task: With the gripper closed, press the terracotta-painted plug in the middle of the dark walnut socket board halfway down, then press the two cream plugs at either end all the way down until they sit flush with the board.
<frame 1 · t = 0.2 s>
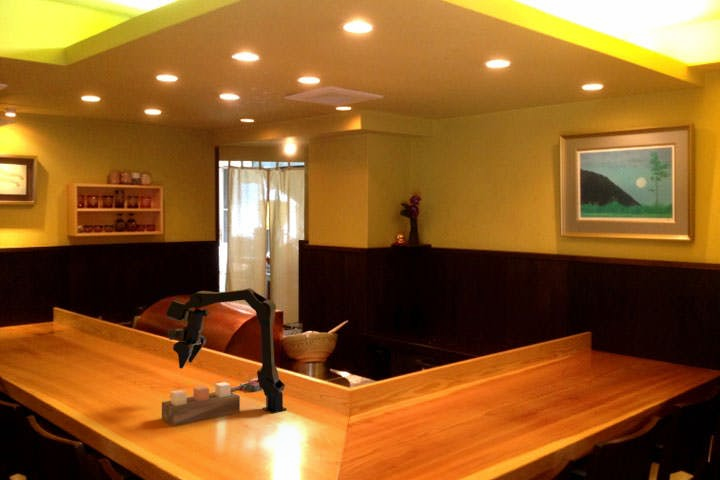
hand: (185, 365, 258), 15 cm above the counter, tool pointing down, fingers open, 9 cm apart
walkie-talkie: (251, 390, 282), on the counter
plug cream 2: (222, 392, 251), point 7 cm above the counter, slide at 0.0 cm
plug cream 1: (178, 400, 241), point 7 cm above the counter, slide at 0.0 cm
socket board: (201, 415, 246), on the counter
plug terracotta: (201, 396, 246), point 7 cm above the counter, slide at 0.0 cm
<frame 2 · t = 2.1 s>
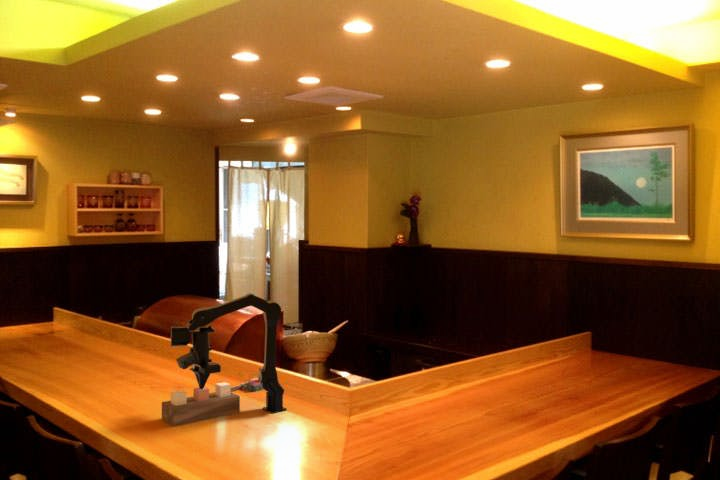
hand: (201, 388, 246), 10 cm above the counter, tool pointing down, fingers closed, pressing on plug terracotta
plug terracotta: (201, 396, 246), point 7 cm above the counter, slide at 0.3 cm, touching gripper
everything else where it was.
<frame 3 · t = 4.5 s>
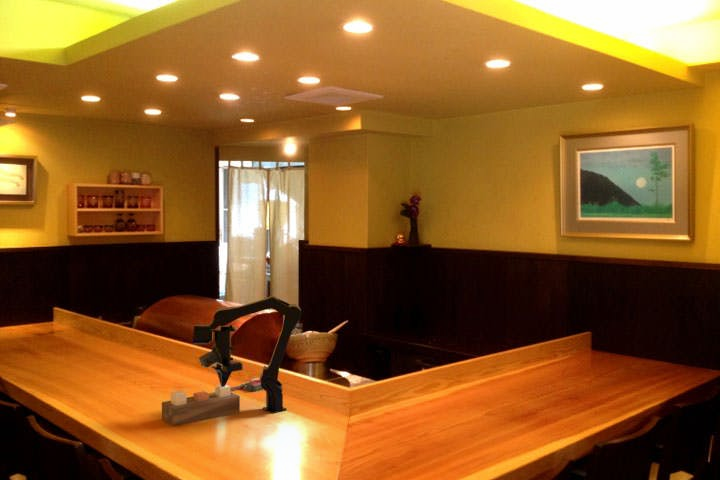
hand: (223, 386, 251), 9 cm above the counter, tool pointing down, fingers closed, pressing on plug cream 2
plug cream 2: (222, 394, 251), point 6 cm above the counter, slide at 0.9 cm, touching gripper
plug terracotta: (201, 401, 246), point 5 cm above the counter, slide at 1.9 cm
everything else where it was.
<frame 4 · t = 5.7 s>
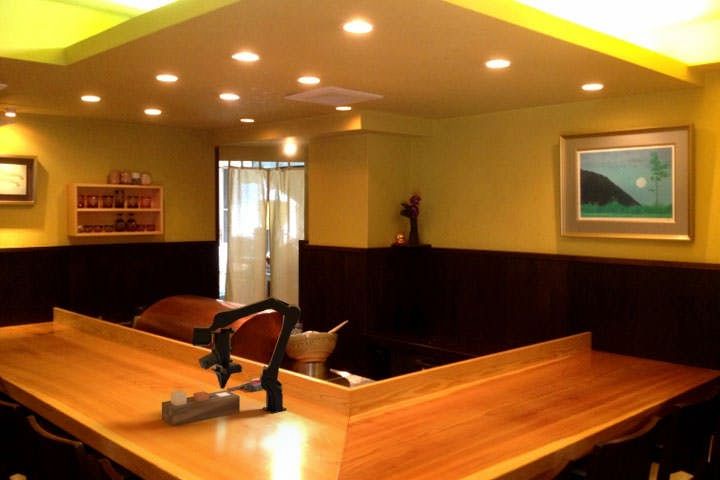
hand: (222, 388, 251), 8 cm above the counter, tool pointing down, fingers closed
plug cream 2: (222, 402, 252), point 3 cm above the counter, slide at 3.8 cm
everything else where it was.
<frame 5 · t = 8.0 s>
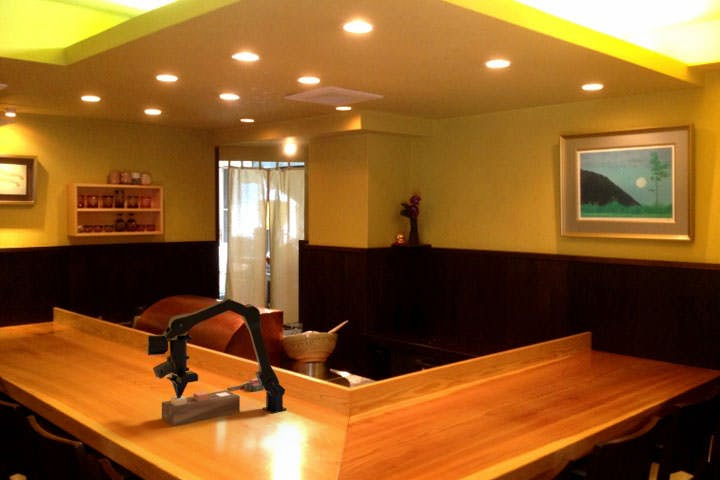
hand: (178, 397, 241), 8 cm above the counter, tool pointing down, fingers closed, pressing on plug cream 1
plug cream 1: (178, 406, 241), point 5 cm above the counter, slide at 2.1 cm, touching gripper
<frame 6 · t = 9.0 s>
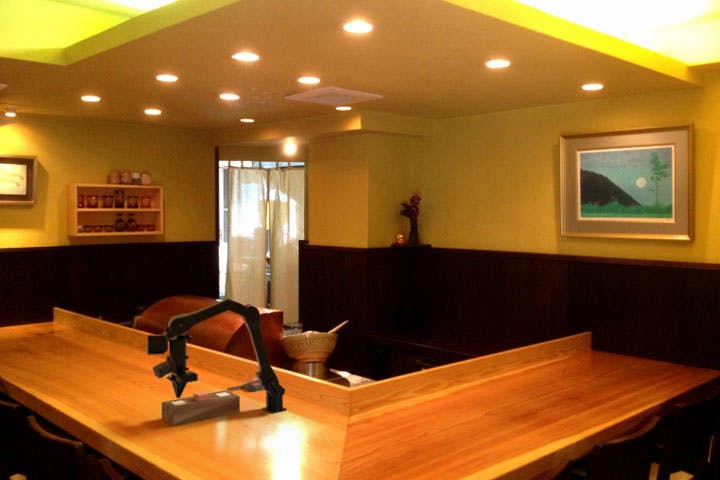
hand: (178, 397, 240), 8 cm above the counter, tool pointing down, fingers closed
plug cream 1: (178, 410, 241), point 3 cm above the counter, slide at 3.7 cm
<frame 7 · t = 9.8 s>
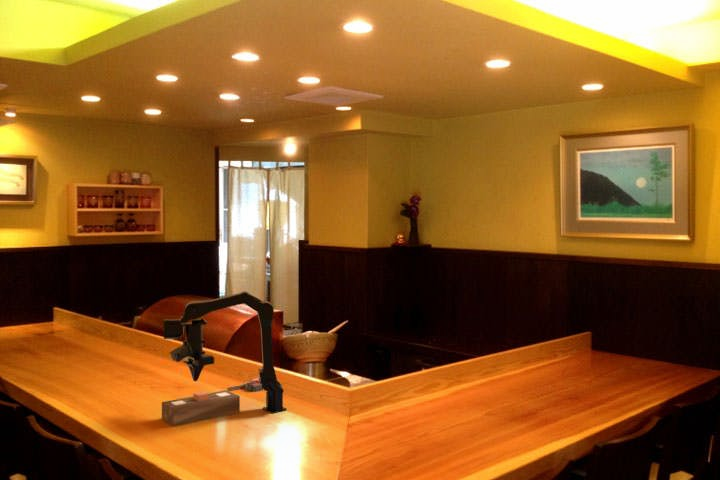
hand: (195, 380, 247), 12 cm above the counter, tool pointing down, fingers closed
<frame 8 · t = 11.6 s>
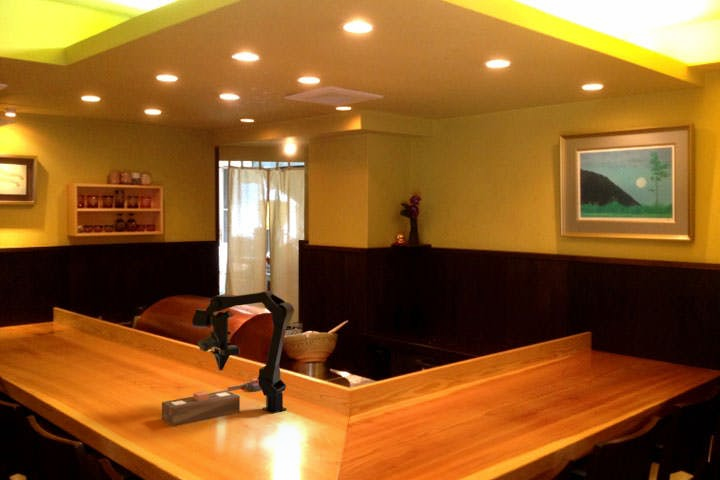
hand: (220, 370, 259), 13 cm above the counter, tool pointing down, fingers closed
at the end: plug terracotta slide at 1.9 cm; plug cream 2 slide at 3.8 cm; plug cream 1 slide at 3.7 cm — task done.
